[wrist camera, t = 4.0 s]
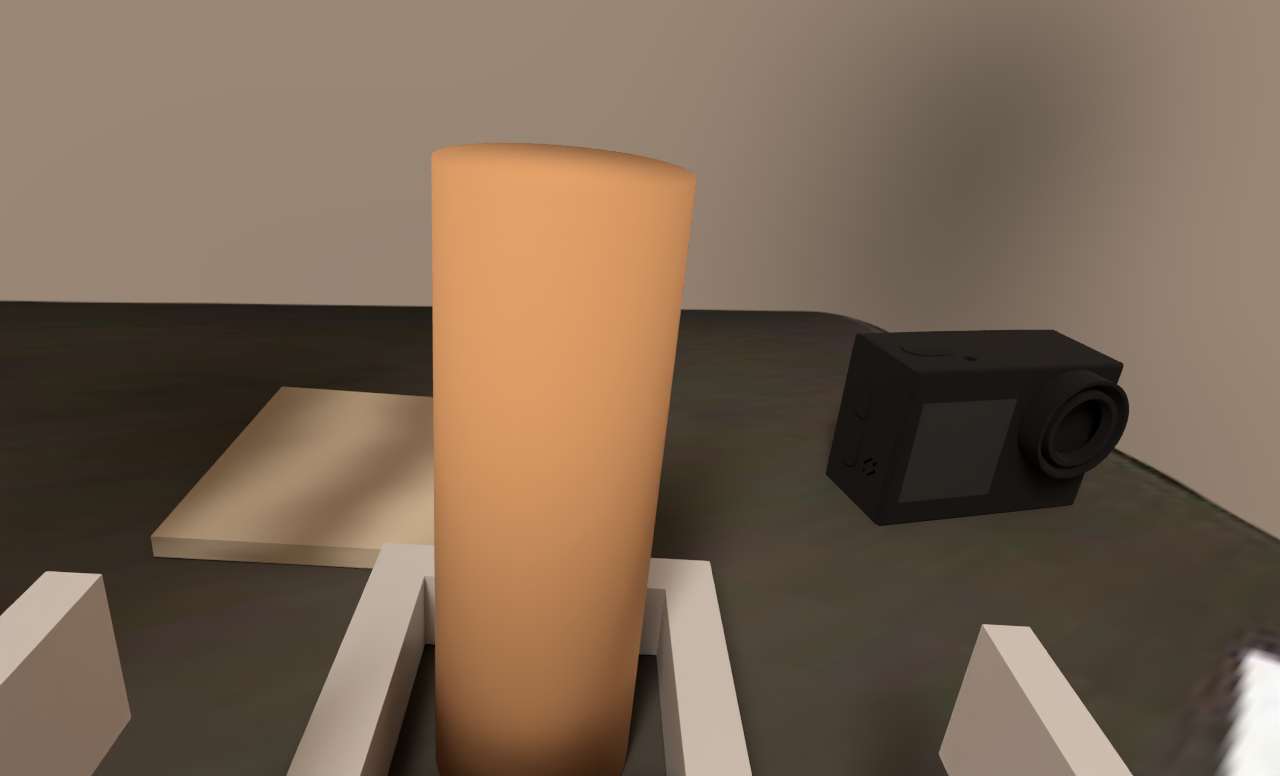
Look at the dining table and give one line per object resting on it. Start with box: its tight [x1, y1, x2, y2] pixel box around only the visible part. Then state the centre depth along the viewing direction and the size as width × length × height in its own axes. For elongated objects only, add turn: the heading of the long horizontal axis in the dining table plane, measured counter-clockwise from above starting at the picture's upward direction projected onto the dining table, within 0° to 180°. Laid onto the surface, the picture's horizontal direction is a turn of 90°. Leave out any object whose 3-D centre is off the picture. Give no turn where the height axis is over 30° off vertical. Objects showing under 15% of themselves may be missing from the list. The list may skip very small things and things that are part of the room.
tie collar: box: [286, 543, 752, 776], centre depth 21 cm, size 10×10×2 cm
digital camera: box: [826, 330, 1129, 525], centre depth 35 cm, size 10×5×7 cm, turn 108°
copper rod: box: [432, 143, 697, 776], centre depth 19 cm, size 5×5×15 cm
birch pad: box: [151, 387, 434, 568], centre depth 33 cm, size 12×12×1 cm
